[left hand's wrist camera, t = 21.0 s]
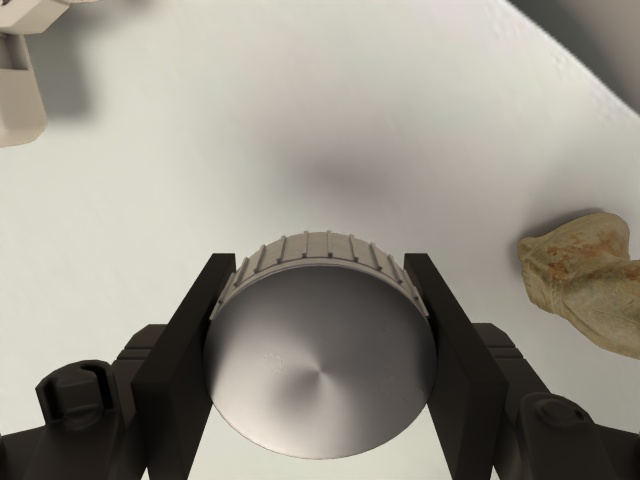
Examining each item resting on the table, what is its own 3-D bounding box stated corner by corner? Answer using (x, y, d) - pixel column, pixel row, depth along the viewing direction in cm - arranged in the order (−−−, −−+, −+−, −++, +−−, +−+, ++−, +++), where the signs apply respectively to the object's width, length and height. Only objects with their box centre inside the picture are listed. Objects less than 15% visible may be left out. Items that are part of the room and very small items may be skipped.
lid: (240, 412, 13) (225, 471, 11) (198, 241, 11) (170, 276, 9) (424, 394, 13) (443, 451, 11) (416, 215, 11) (438, 245, 9)
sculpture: (612, 272, 29) (886, 442, 15) (510, 297, 30) (681, 482, 16) (608, 195, 27) (919, 308, 13) (500, 224, 28) (683, 360, 14)
